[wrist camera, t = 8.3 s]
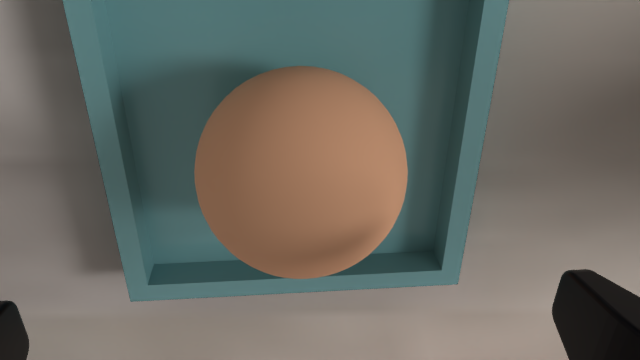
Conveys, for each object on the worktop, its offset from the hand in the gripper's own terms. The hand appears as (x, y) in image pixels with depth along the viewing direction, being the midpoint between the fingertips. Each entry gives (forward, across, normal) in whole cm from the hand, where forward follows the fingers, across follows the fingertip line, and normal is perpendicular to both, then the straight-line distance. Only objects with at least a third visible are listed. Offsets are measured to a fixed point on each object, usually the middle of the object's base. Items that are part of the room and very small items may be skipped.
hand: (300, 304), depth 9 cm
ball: (+7, 0, 0) cm, 7 cm away
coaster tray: (+8, 0, 0) cm, 8 cm away
